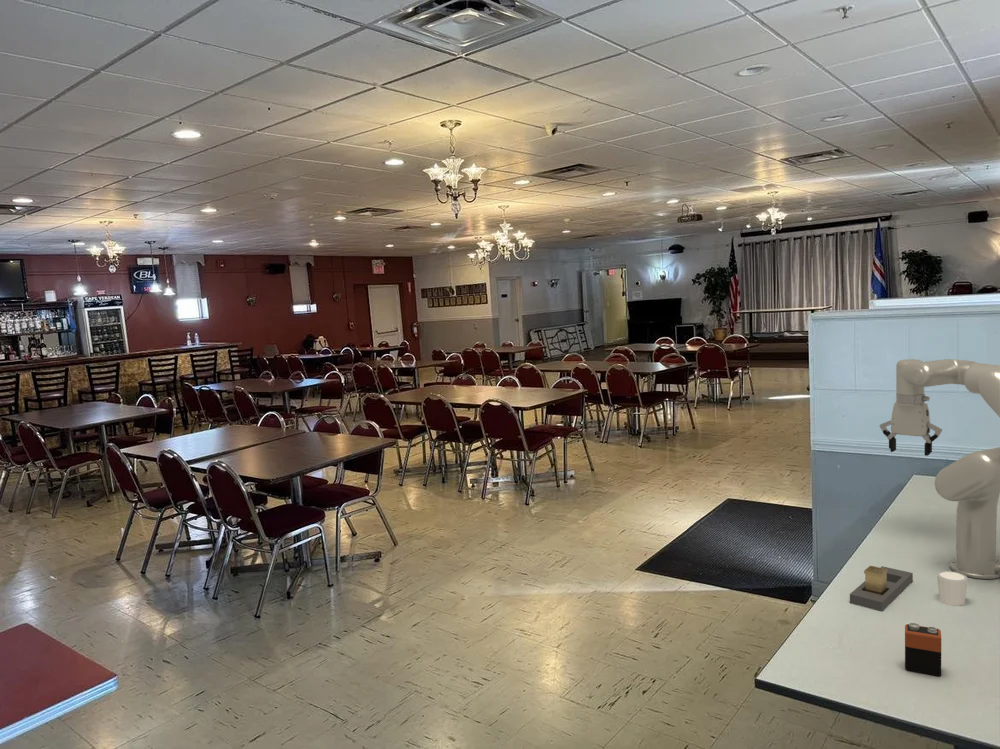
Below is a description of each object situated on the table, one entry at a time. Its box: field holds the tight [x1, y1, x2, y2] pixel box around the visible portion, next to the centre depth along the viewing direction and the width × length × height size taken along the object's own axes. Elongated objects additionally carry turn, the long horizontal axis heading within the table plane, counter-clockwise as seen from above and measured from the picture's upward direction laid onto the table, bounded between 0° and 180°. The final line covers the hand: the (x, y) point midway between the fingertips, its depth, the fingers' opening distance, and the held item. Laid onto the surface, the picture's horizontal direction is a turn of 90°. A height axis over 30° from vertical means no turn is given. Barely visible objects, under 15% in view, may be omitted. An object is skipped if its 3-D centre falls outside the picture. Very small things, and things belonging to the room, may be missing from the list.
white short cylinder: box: [936, 570, 969, 607], centre depth 184 cm, size 7×7×7 cm
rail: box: [849, 565, 914, 612], centre depth 192 cm, size 8×24×2 cm, turn 133°
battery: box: [904, 622, 942, 677], centre depth 154 cm, size 4×7×10 cm, turn 60°
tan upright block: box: [863, 565, 888, 595], centre depth 188 cm, size 4×4×8 cm
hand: (910, 452), depth 219 cm, fingers open, 9 cm apart
